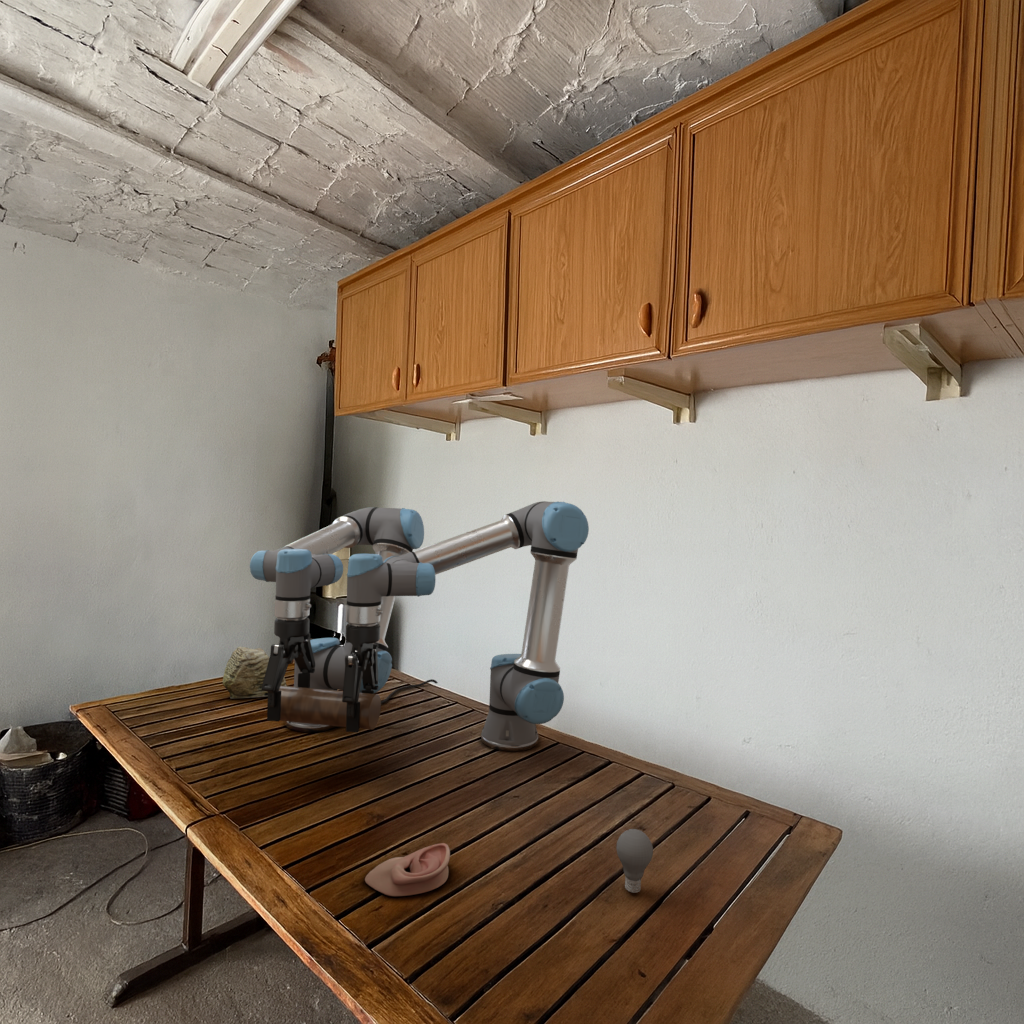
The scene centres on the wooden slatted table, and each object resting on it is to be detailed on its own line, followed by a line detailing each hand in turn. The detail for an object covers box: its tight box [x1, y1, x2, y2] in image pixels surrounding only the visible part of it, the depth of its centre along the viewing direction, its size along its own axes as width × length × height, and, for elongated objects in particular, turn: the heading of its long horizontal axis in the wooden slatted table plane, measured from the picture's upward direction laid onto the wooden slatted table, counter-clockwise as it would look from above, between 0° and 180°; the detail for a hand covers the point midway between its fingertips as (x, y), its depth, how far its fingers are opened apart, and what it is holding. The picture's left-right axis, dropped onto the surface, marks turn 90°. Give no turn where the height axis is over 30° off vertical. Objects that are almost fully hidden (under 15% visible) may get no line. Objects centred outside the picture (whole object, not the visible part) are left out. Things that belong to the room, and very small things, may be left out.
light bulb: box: [615, 828, 654, 894], centre depth 106 cm, size 6×6×10 cm
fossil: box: [222, 646, 288, 699], centre depth 198 cm, size 9×18×15 cm, turn 132°
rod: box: [279, 685, 382, 731], centre depth 143 cm, size 24×8×8 cm, turn 81°
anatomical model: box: [364, 842, 451, 897], centre depth 107 cm, size 13×4×12 cm
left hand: (289, 710), depth 144 cm, fingers open, 13 cm apart
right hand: (359, 724), depth 142 cm, fingers closed on rod, 8 cm apart
